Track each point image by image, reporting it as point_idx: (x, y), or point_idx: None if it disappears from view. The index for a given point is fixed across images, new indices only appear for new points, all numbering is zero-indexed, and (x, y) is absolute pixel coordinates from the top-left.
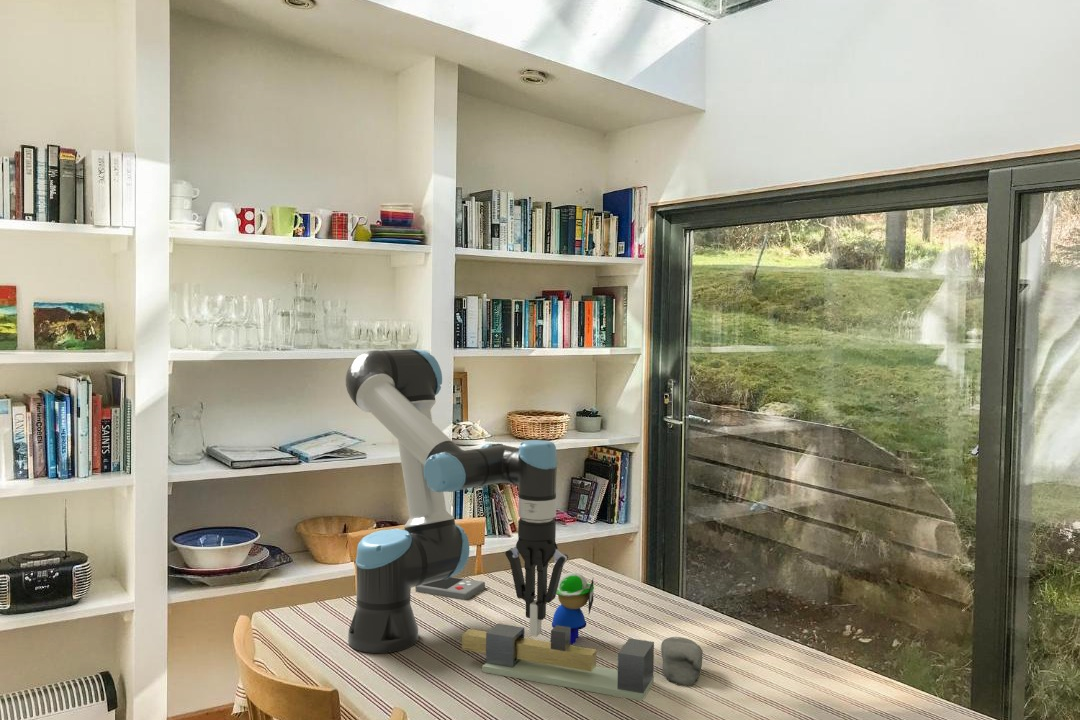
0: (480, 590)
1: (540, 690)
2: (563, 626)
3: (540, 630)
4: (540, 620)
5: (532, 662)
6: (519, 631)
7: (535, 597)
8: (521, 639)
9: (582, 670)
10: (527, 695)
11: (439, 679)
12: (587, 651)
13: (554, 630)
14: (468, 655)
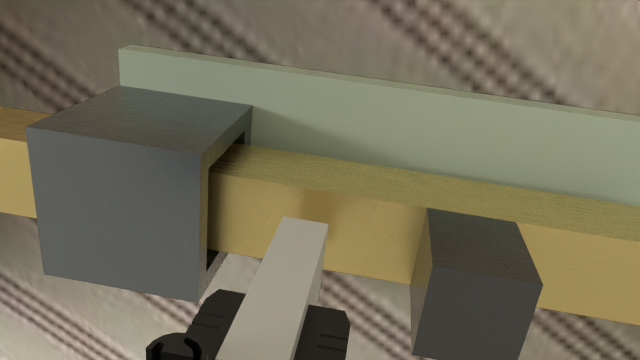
0: None
1: (393, 318)
2: (487, 278)
3: (324, 248)
4: (313, 285)
5: (308, 153)
6: (195, 217)
7: (206, 351)
8: (224, 200)
9: (559, 187)
10: (357, 357)
11: (40, 299)
12: (627, 282)
13: (434, 352)
14: (11, 81)
